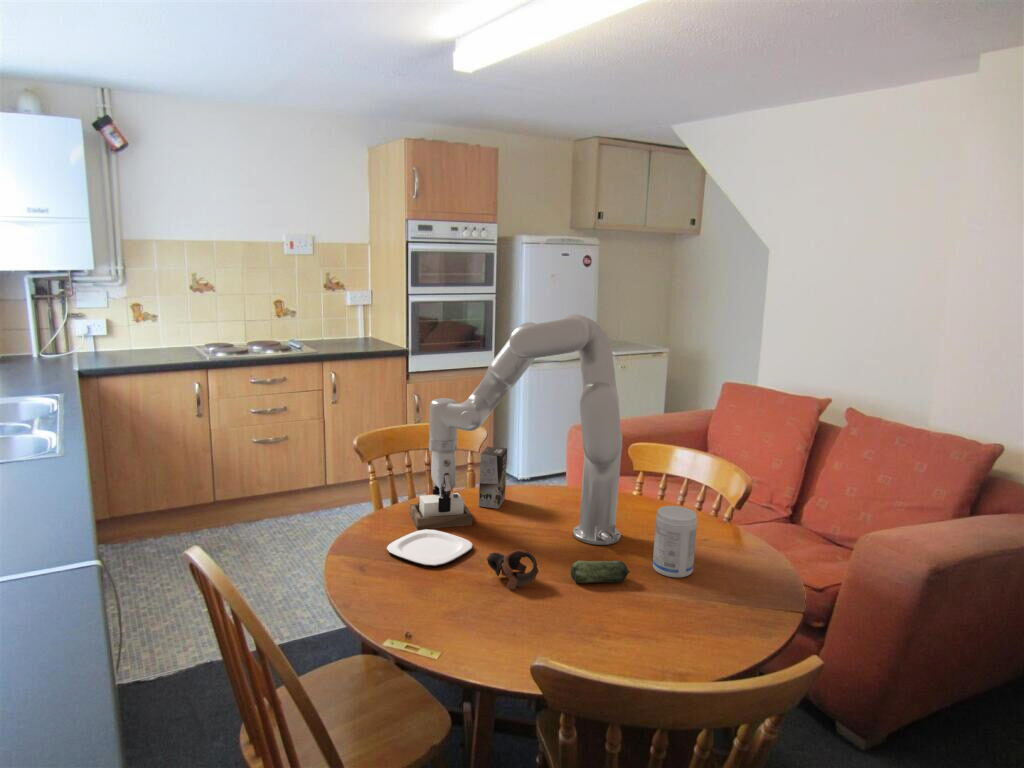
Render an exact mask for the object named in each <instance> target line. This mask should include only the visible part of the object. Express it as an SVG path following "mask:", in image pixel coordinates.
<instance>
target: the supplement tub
mask: <svg viewBox="0 0 1024 768" xmlns="http://www.w3.org/2000/svg"><path fill="white" fill-rule="evenodd" d="M697 528H698V514H697V512H695V511H694V510H692V509H690V508H688V507H684V506H680V505H679V506H678V505H666V506H661V507H659V508H658V509H657V511H656V516H655V528H654V541H653V542H654V543H653V555H652V556H653V557H652V568H653V569H654V570H655V572H657V573H658V574H660V575H663V576H665V577H669V578H674V579H675V578H679V579H680V578H686V577H688V576H690V575H691V574H692V573H693V571H694V562H695V551H696V543H697V541H696V539H697Z"/></svg>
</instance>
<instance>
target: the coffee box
mask: <svg viewBox="0 0 1024 768" xmlns="http://www.w3.org/2000/svg"><path fill="white" fill-rule="evenodd" d="M507 458H508V448H507V447H497V446H494V447H492V446H487V447H485V449H484V450H483V451H482V452H481V453H480V467H479V486H478V488H479V489H478V490H479V491H478V507H480V506H481V508H482V507H483V508H489V509H496V510H497V509H500V507H501V505H502V504H503V502H504V501H505V500H506V489H507V488H506V486H507V485H506V484H507V483H506V482H507V481H506V480H507V462H508V461H507V460H508V459H507Z"/></svg>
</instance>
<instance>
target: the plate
mask: <svg viewBox="0 0 1024 768" xmlns="http://www.w3.org/2000/svg"><path fill="white" fill-rule="evenodd" d="M473 546H474V544H473V542H471V541H470V540H469V539H466V538H463V537H461V536H457V535H455V534H452V533H449V532H444V531H441V530H437V529H419V530H415V531H413V532H409V533H408V534H406V535H403V536H402V537H400V538H397V539H396V540H393V541H392V542H391V543H389V544H388V545H387V547H386V550H387V552H389V554H391V555H393V556H396V557H398V558H399V559H403V560H405V561H409V562H411V563H415V564H418V565H422V566H427V567H429V566H430V567H437V566H442V565H446V564H448V563H451V562H453V561H455V560H457V559H459V558H460V557H462V556H464V555H466V554H467V553H468V552H469V551H471V550H472V549H473Z"/></svg>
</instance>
